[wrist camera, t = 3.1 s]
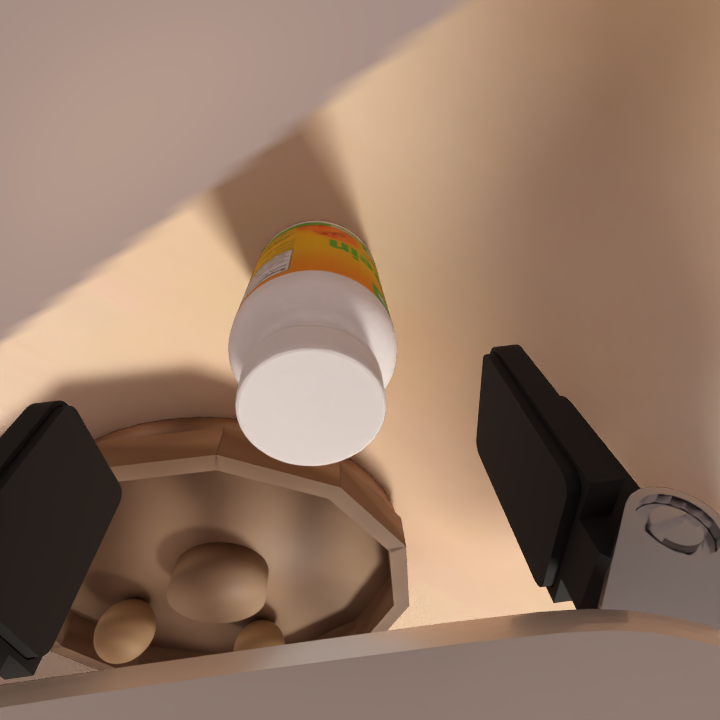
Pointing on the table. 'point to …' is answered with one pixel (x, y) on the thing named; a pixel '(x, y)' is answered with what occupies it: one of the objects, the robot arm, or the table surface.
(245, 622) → the groove tray
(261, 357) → the supplement bottle
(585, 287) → the table surface
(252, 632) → the bead
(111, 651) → the bead
